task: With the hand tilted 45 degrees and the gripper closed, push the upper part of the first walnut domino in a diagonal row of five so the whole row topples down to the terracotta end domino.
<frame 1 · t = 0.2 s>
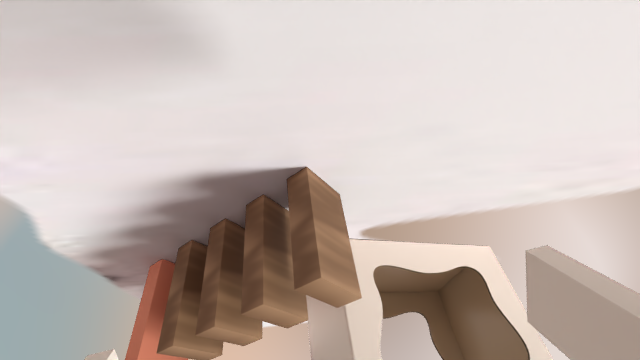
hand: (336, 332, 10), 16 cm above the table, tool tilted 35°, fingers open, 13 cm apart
gable box: (393, 266, 43), on the table
domino 4: (205, 252, 34), on the table
domino 2: (273, 211, 30), on the table
domino 5: (176, 270, 36), on the table
domino 3: (237, 233, 32), on the table
domino 1: (314, 187, 29), on the table
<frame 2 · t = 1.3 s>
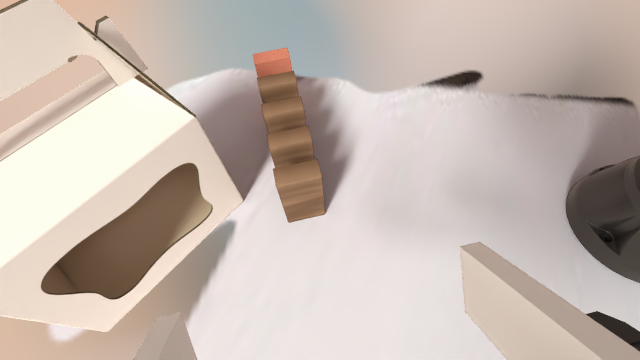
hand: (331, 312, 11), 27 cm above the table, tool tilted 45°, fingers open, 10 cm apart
gable box: (153, 230, 43), on the table
domino 4: (287, 128, 51), on the table
domino 2: (298, 180, 45), on the table
domino 5: (282, 106, 53), on the table
domino 3: (292, 153, 48), on the table
domino 1: (305, 211, 43), on the table
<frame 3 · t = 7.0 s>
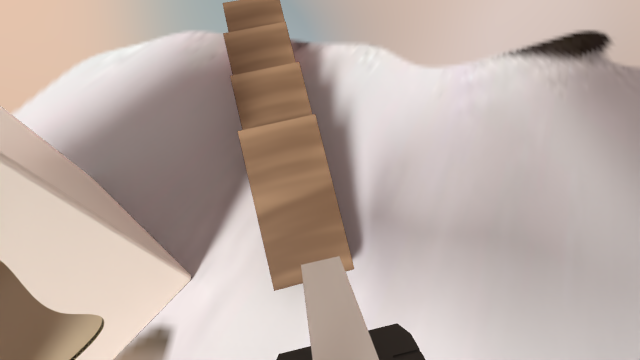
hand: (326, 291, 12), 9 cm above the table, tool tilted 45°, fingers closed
domino 4: (275, 107, 28), point 1 cm above the table, tilted 67°, touching domino 3, domino 5
domino 2: (298, 205, 23), point 1 cm above the table, tilted 64°, touching domino 1, domino 3
domino 3: (284, 151, 25), point 1 cm above the table, tilted 64°, touching domino 2, domino 4
domino 1: (313, 276, 20), point 1 cm above the table, tilted 64°, touching domino 2
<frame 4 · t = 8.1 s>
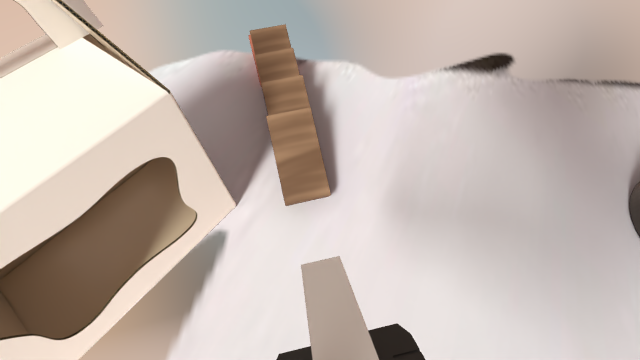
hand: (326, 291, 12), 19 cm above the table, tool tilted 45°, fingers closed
gable box: (124, 243, 34), on the table
domino 4: (283, 98, 43), point 1 cm above the table, tilted 67°, touching domino 3, domino 5
domino 2: (300, 161, 38), point 1 cm above the table, tilted 66°, touching domino 1
domino 3: (291, 128, 40), point 1 cm above the table, tilted 66°, touching domino 4
domino 1: (308, 200, 35), point 1 cm above the table, tilted 66°, touching domino 2
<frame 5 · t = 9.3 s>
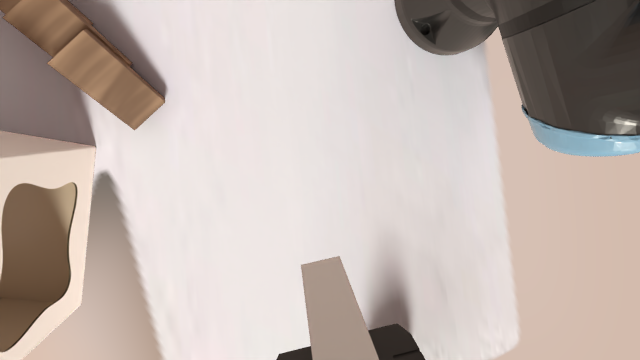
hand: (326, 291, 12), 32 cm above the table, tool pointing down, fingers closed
gable box: (33, 221, 40), on the table
domino 2: (116, 78, 38), point 1 cm above the table, tilted 67°, touching domino 1, domino 3
domino 3: (76, 38, 37), point 1 cm above the table, tilted 67°, touching domino 2, domino 4
domino 1: (150, 113, 39), point 1 cm above the table, tilted 66°, touching domino 2
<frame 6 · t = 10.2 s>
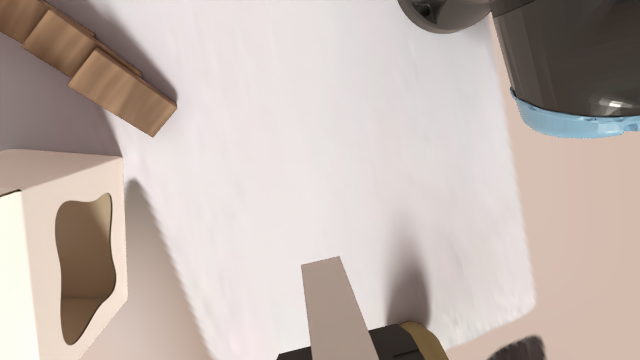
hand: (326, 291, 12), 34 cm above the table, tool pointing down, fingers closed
gable box: (76, 228, 44), on the table
domino 2: (129, 89, 40), point 1 cm above the table, tilted 68°, touching domino 1
domino 3: (84, 52, 38), point 1 cm above the table, tilted 67°
squeeze bottle: (407, 334, 55), on the table
domino 1: (164, 120, 41), point 1 cm above the table, tilted 67°, touching domino 2
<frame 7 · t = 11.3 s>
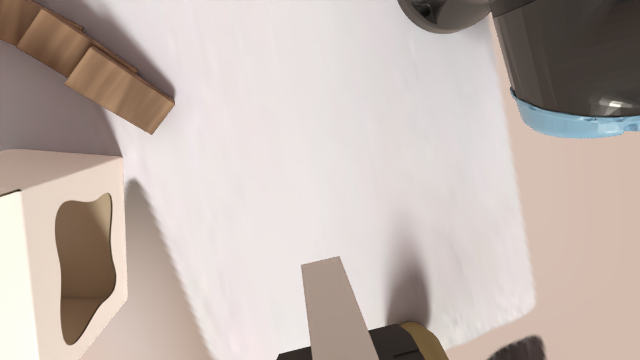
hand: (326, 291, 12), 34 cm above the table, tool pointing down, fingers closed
gable box: (76, 228, 44), on the table
domino 2: (126, 87, 40), point 1 cm above the table, tilted 68°, touching domino 1, domino 3
domino 3: (74, 47, 38), point 1 cm above the table, tilted 67°, touching domino 2, domino 4
squeeze bottle: (407, 334, 55), on the table
domino 1: (163, 117, 41), point 1 cm above the table, tilted 67°, touching domino 2
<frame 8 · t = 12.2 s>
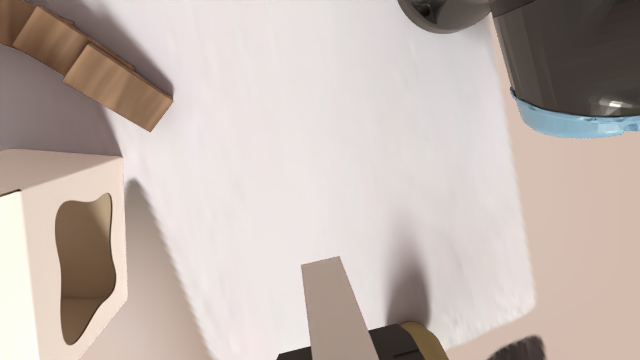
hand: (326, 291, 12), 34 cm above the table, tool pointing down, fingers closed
gable box: (76, 228, 44), on the table
domino 2: (123, 84, 40), point 1 cm above the table, tilted 69°, touching domino 1
domino 3: (67, 43, 38), point 1 cm above the table, tilted 68°, touching domino 4
squeeze bottle: (407, 334, 55), on the table
domino 1: (161, 114, 41), point 1 cm above the table, tilted 68°, touching domino 2
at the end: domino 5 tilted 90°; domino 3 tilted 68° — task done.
